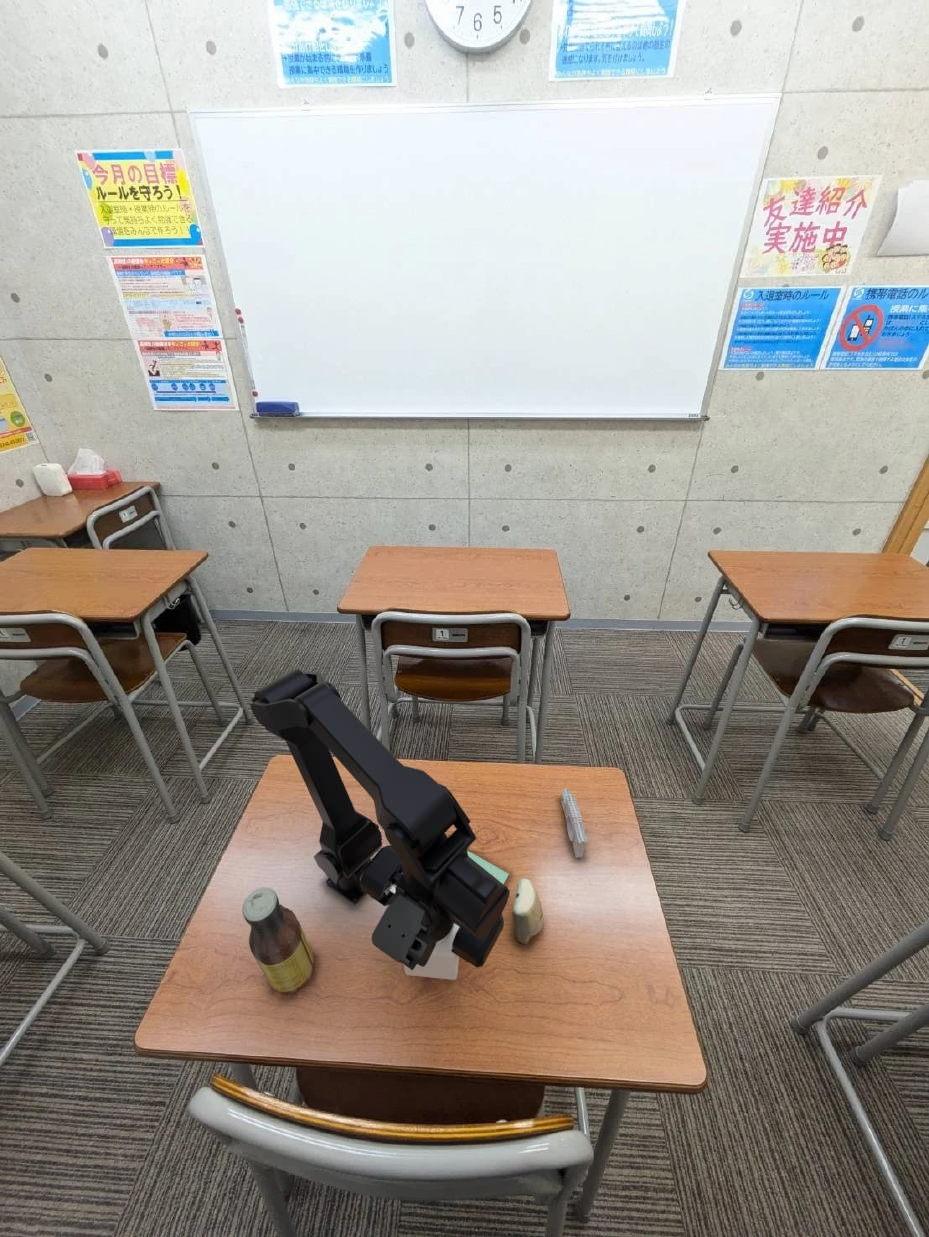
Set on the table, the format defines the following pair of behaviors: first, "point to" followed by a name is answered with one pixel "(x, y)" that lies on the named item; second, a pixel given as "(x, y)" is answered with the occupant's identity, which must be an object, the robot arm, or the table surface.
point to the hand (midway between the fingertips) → (432, 933)
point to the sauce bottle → (278, 942)
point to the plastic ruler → (490, 868)
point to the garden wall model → (574, 822)
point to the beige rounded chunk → (527, 911)
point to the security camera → (440, 954)
